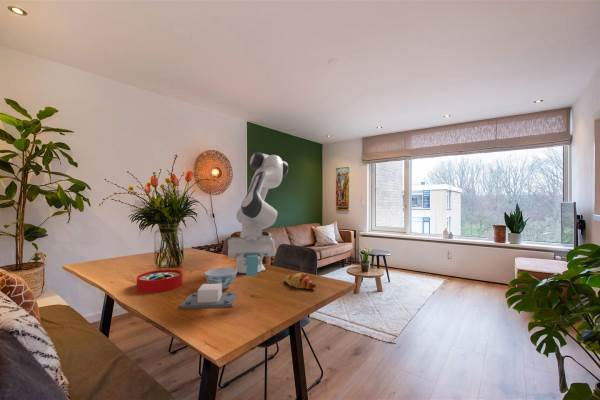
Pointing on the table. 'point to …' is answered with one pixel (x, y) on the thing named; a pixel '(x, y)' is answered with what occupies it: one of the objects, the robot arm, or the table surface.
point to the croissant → (300, 281)
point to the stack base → (221, 303)
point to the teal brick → (252, 265)
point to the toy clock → (159, 281)
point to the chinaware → (221, 276)
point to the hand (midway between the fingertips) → (252, 264)
